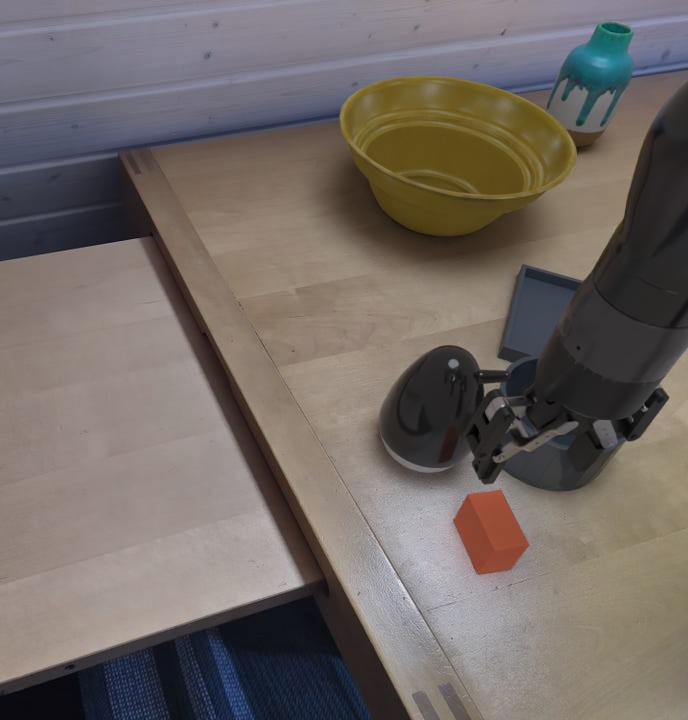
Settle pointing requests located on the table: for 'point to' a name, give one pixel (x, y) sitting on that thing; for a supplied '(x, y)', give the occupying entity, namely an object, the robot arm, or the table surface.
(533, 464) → the crock
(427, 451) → the pump dispenser
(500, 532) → the sponge
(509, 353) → the tray
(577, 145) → the vase
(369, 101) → the planter bowl
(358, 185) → the table surface
